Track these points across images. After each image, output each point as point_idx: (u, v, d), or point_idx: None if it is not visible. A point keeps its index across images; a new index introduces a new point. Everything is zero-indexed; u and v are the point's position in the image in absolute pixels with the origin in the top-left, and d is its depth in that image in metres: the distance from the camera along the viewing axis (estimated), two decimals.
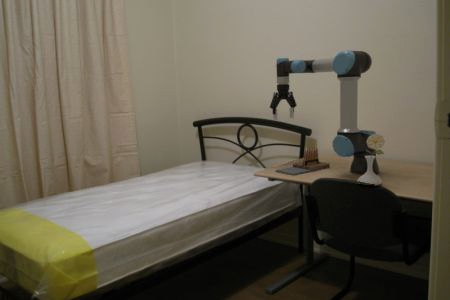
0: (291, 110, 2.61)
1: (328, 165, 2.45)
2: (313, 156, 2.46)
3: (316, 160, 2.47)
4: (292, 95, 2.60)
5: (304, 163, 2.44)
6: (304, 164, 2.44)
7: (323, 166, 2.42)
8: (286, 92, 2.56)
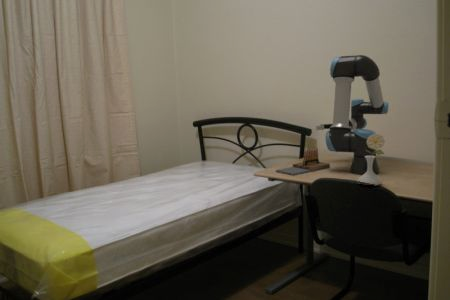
0: None
1: (328, 165, 2.45)
2: (313, 156, 2.46)
3: (316, 160, 2.47)
4: (349, 125, 2.53)
5: (304, 163, 2.44)
6: (304, 164, 2.44)
7: (323, 166, 2.42)
8: None
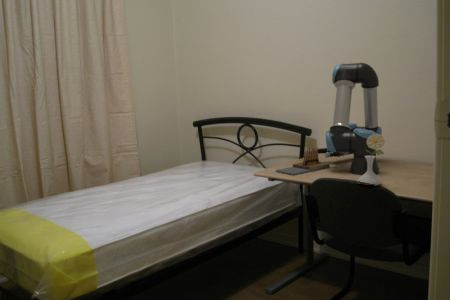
0: None
1: (328, 165, 2.45)
2: (313, 156, 2.46)
3: (316, 160, 2.47)
4: None
5: (304, 163, 2.44)
6: (304, 164, 2.44)
7: (323, 166, 2.42)
8: None
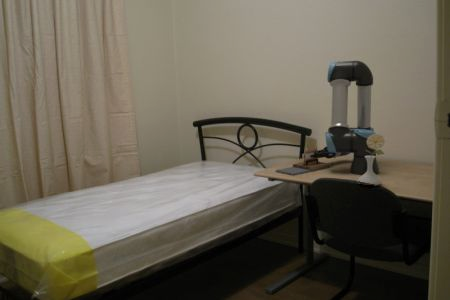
0: None
1: (328, 165, 2.45)
2: None
3: (316, 160, 2.47)
4: (328, 152, 2.46)
5: (305, 163, 2.43)
6: (305, 164, 2.43)
7: (323, 166, 2.42)
8: (328, 151, 2.51)
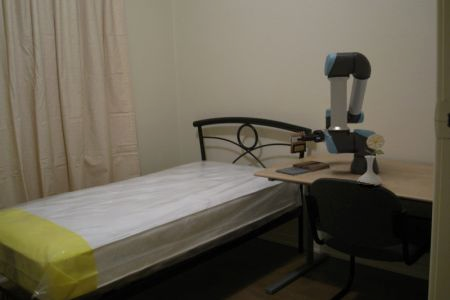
0: None
1: (328, 165, 2.45)
2: None
3: (303, 144, 2.42)
4: (316, 136, 2.41)
5: (291, 147, 2.38)
6: (291, 148, 2.38)
7: (323, 166, 2.42)
8: (316, 135, 2.46)
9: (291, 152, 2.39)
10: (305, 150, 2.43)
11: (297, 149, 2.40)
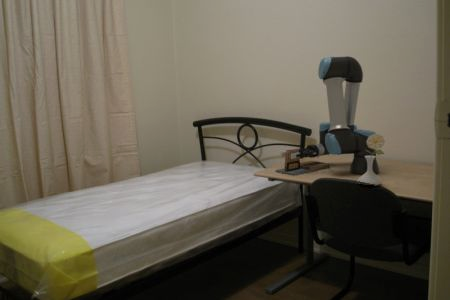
0: None
1: (328, 165, 2.45)
2: (294, 158, 2.37)
3: (297, 162, 2.39)
4: (312, 151, 2.37)
5: (286, 165, 2.34)
6: (286, 166, 2.34)
7: (323, 166, 2.42)
8: (310, 150, 2.42)
9: (285, 170, 2.35)
10: (299, 168, 2.40)
11: (291, 167, 2.36)
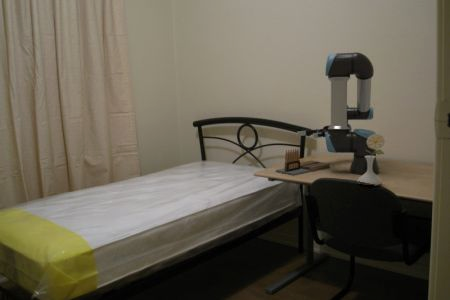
0: None
1: (328, 165, 2.45)
2: (294, 158, 2.37)
3: (297, 162, 2.39)
4: None
5: (286, 165, 2.34)
6: (286, 166, 2.34)
7: (323, 166, 2.42)
8: (327, 130, 2.50)
9: (285, 170, 2.35)
10: (299, 168, 2.40)
11: (291, 167, 2.36)
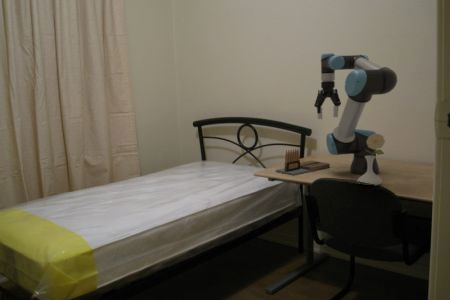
0: (335, 109, 2.47)
1: (328, 165, 2.45)
2: (294, 158, 2.37)
3: (297, 162, 2.39)
4: (337, 93, 2.46)
5: (286, 165, 2.34)
6: (286, 166, 2.34)
7: (323, 166, 2.42)
8: (331, 90, 2.42)
9: (285, 170, 2.35)
10: (299, 168, 2.40)
11: (291, 167, 2.36)
